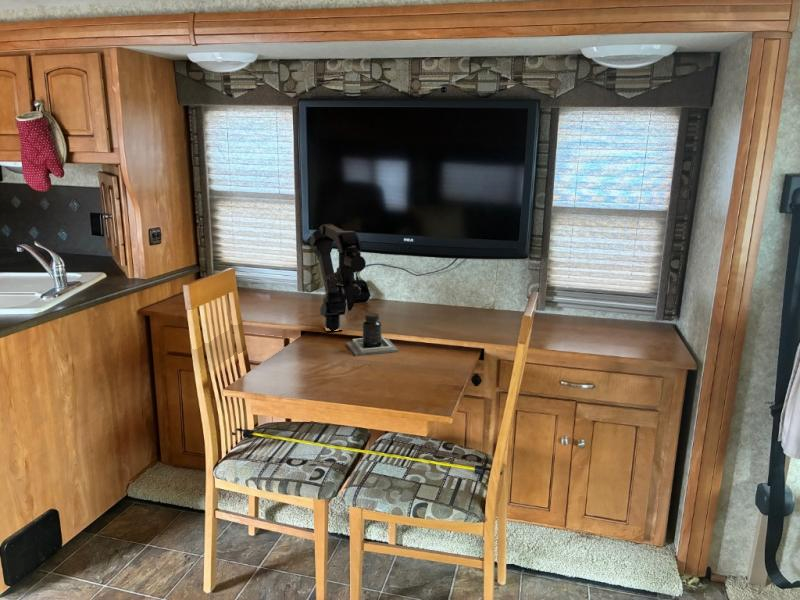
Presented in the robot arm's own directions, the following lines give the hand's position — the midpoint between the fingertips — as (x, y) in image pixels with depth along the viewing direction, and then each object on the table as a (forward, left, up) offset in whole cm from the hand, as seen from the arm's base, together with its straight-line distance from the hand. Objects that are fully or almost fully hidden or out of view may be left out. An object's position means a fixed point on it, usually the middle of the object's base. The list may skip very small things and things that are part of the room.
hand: (346, 306), depth 225 cm
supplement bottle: (+11, +7, -12) cm, 18 cm away
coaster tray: (+11, +7, -13) cm, 18 cm away
